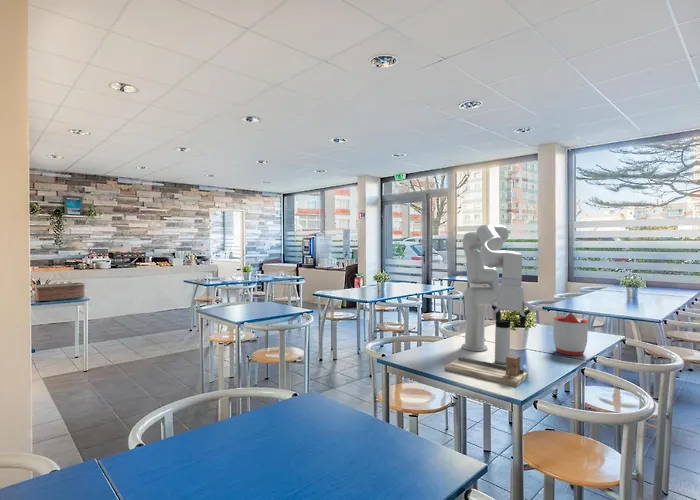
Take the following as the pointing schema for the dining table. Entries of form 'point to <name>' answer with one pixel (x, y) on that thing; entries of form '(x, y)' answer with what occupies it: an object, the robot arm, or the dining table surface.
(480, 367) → the board
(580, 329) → the citrus juicer
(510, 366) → the brown block
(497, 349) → the travel mug
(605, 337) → the dining table surface
